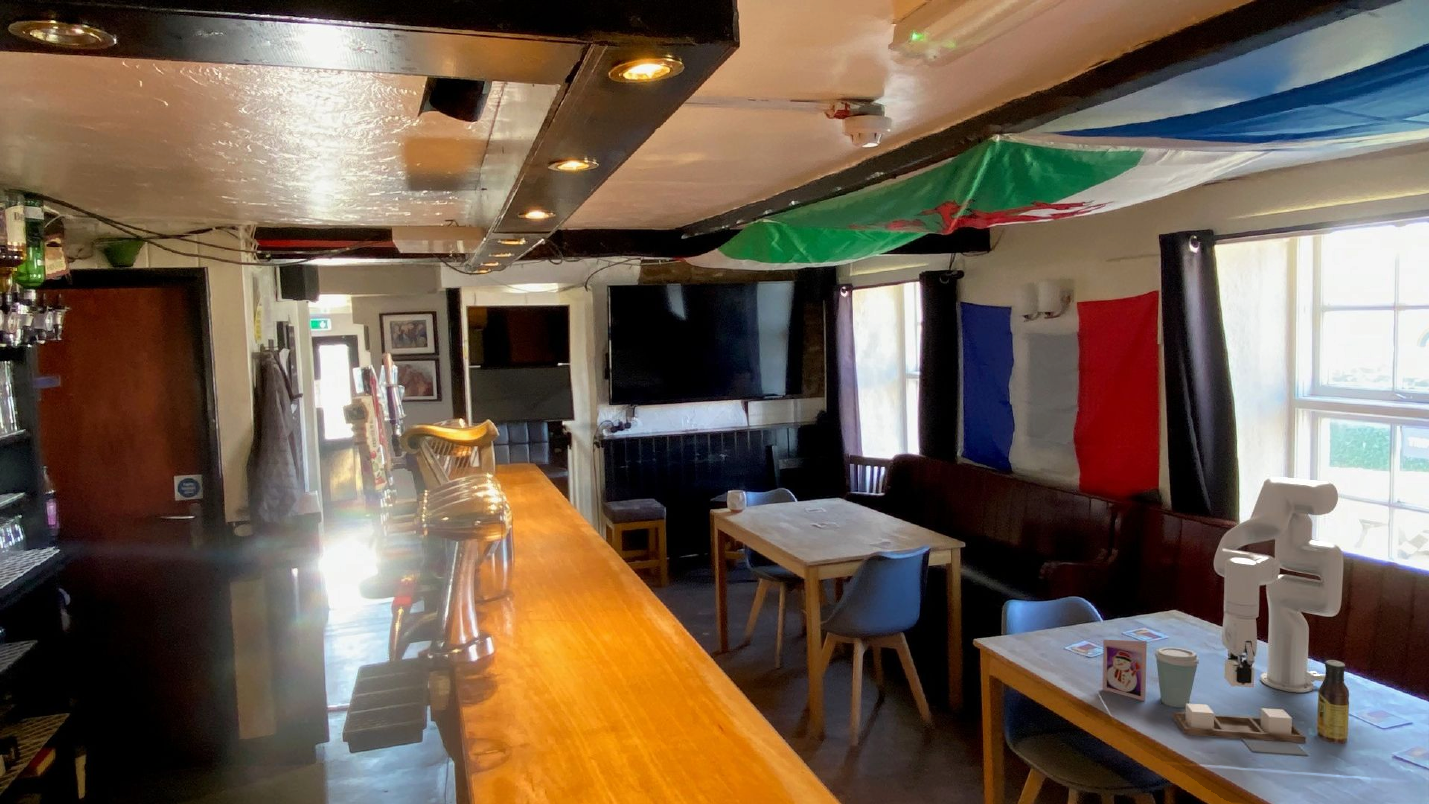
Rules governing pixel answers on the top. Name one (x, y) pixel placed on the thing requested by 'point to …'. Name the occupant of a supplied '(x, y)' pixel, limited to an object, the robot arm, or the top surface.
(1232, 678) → the lettered cube
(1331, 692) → the sauce bottle
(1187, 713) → the blank cube
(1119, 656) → the greeting card
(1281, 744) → the slate mat
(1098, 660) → the top surface
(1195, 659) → the disposable coffee cup
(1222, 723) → the organizer
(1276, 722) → the blank cube
